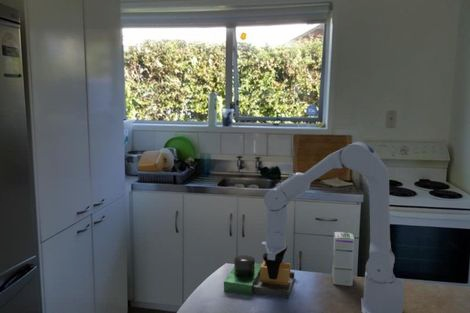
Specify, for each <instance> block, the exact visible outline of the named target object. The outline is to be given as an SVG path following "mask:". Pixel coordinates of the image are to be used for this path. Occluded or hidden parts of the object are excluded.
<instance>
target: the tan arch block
mask: <svg viewBox="0 0 470 313" xmlns="http://www.w3.org/2000/svg"><path fill="white" fill-rule="evenodd" d="M261 264H262V265H261V266H260V282H265V283H273V284H280V285H288V283H289V280H290V272H291V263H289V262H283V261H282V262H281V263H280V267H279V272H278V276H277V279H270V278H269V275H268V270H267V266H266V263H265V261H264V260H263V261H262V263H261Z"/></svg>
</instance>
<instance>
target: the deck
mask: <svg viewBox="0 0 470 313" xmlns="http://www.w3.org/2000/svg"><path fill="white" fill-rule="evenodd" d="M233 262H234V266H233V267H232V268H231V271H229V274H228V275H227V277H226V278H225V279H224V281H223V292H226V293H231V294H232V293H233V294H237V295H242V296H243V295H245V296H250V297H251V296H252V295H253V294H255V295H256V294H257V295H261V296H269V297H275V298H283V299H287V300H289V298H290V296H291V295H290V294H291V291H292V289H293V288H292V287H293V284H294V281H295V271H290V280H289V283H288V285H280V284H273V283H265V282H260V266H261V265H262V263H258V262H257V263H256V258H254V257H253V256H251V255H238V256H236V257H234V261H233Z"/></svg>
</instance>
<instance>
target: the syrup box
mask: <svg viewBox="0 0 470 313" xmlns="http://www.w3.org/2000/svg"><path fill="white" fill-rule="evenodd" d="M332 248H333V251H332V254H333V255H332V276H331V277H332V283H333V285H339V286H346V287H347V286H348V287H353V284H354V283H353V279H354V267H355V266H354V263H355V237H354V233H352V232H347V231H334V232H333V247H332Z"/></svg>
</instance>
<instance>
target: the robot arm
mask: <svg viewBox="0 0 470 313" xmlns="http://www.w3.org/2000/svg"><path fill="white" fill-rule="evenodd" d="M343 168H347V169H349V170H351V171H354V172H357V173H359V174H360V175H362V177H364V178H365V179H366V180H367V181H368V185H369V186H368V187H369V188H368V189H369V190H368V192H369V194H368V195H369V228H370V229H369V238H370V239H369V243H370V244H369V250H368V251H369V252H368V255H369V257H368V260H367V261H366V264H365V272H364V284H363V285H364V286H363V297H361V298H360V306H361V313H403V308H404V296H405V287H404V280H403V279H402V278H399V277H398V278H397V277H396V276H395V274H394V270H393V269H394V264H395V262H396V261H395V260H396V257H395V254H394V253H393V251H392V247H391V245H392V243H391V229H390V227H391V226H390V224H391V223H390V218H391V217H390V171H389V168H388V167H387V166H386V164H384V162H383V160H382V159H381V158H380V156H379V155H378V153H377V151H376V150H375V149H374V148H373V147H372V146H371V145H369V144H367V143H366V142H364V141H359V140H358V141H353V142H352V143H351V144H347V145H346V146H344V147H342V148H340V149H338V150H336V151H334V152H331V153H330V154H328V155H327V156H326V157H324V158H323V159H322V160H320V161H319V162H317V163H316V164H315V165H313V166H312V167H311V168H309V169H308V170H307V171H305V172H298V171H297V172H295V173H294V172H292V173H290V174H289V175H288V178H286V179H285V180H284V181H282V182H281V183H280V182H278V183H276V184H275V187H274V188H272V189H269V190H267V192H266V193H265V194H264V198H263V201H264V203H263V204H264V205H265V206H266V219H265V220H266V221H265V222H266V224H265V225H266V226H265V227H266V229H265V230H266V231H265V241H262V242H261V247H265V249H266V252H267V253H263V255H262V259H263V261H265V263H266V266H267V270H268V275H269V278H270V279H277V276H278V272H279V267H280V263H281V262H283V260H284V258H285V257H284V256H285V253H286V252H287V250H288V246H287V242H286V241H287V209H288V207H287V205H288V204H289V203H290V202H292V201H294V200H296V199H297V198H300V196H302V195H304V193H306V192H308V191H309V190H310V187H311V184H312V182H314V181H316V180H317V179H318V178H320V177H322V176H323V175H325V174H327V172H329V171H331V170H332V169H343Z"/></svg>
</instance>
